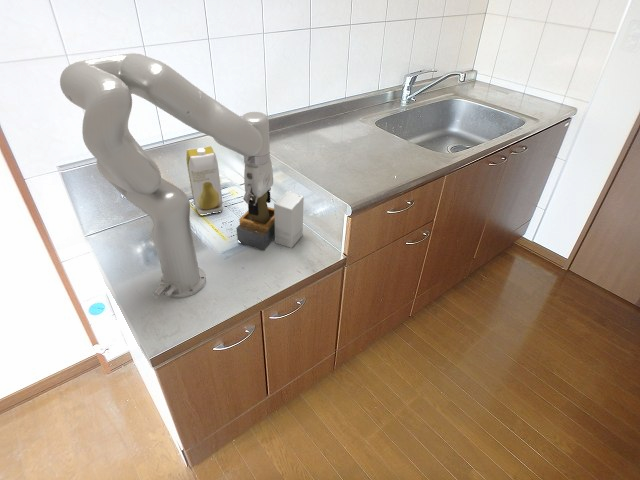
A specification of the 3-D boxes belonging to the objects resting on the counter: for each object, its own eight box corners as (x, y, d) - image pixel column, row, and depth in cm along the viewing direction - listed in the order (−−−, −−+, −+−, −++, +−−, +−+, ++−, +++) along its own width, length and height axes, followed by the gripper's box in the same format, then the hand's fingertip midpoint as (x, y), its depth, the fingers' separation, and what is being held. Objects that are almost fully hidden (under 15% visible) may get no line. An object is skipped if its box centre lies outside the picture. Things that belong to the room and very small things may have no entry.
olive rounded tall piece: (252, 226, 129) (250, 196, 123) (250, 215, 134) (247, 186, 127) (271, 224, 131) (270, 194, 124) (268, 213, 135) (267, 184, 129)
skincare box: (287, 229, 139) (286, 189, 129) (304, 235, 137) (305, 195, 127) (274, 243, 133) (272, 202, 123) (292, 249, 131) (292, 208, 121)
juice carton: (198, 218, 142) (187, 155, 127) (193, 207, 147) (182, 144, 132) (225, 213, 145) (217, 150, 130) (219, 201, 151) (211, 140, 136)
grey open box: (264, 250, 130) (263, 230, 125) (238, 242, 132) (235, 222, 127) (283, 226, 140) (283, 207, 135) (258, 220, 143) (257, 200, 138)
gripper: (253, 172, 111) (257, 225, 122) (281, 147, 124) (282, 197, 135) (229, 166, 113) (235, 219, 124) (259, 142, 126) (262, 192, 137)
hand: (259, 207), depth 129 cm, fingers open, 7 cm apart
